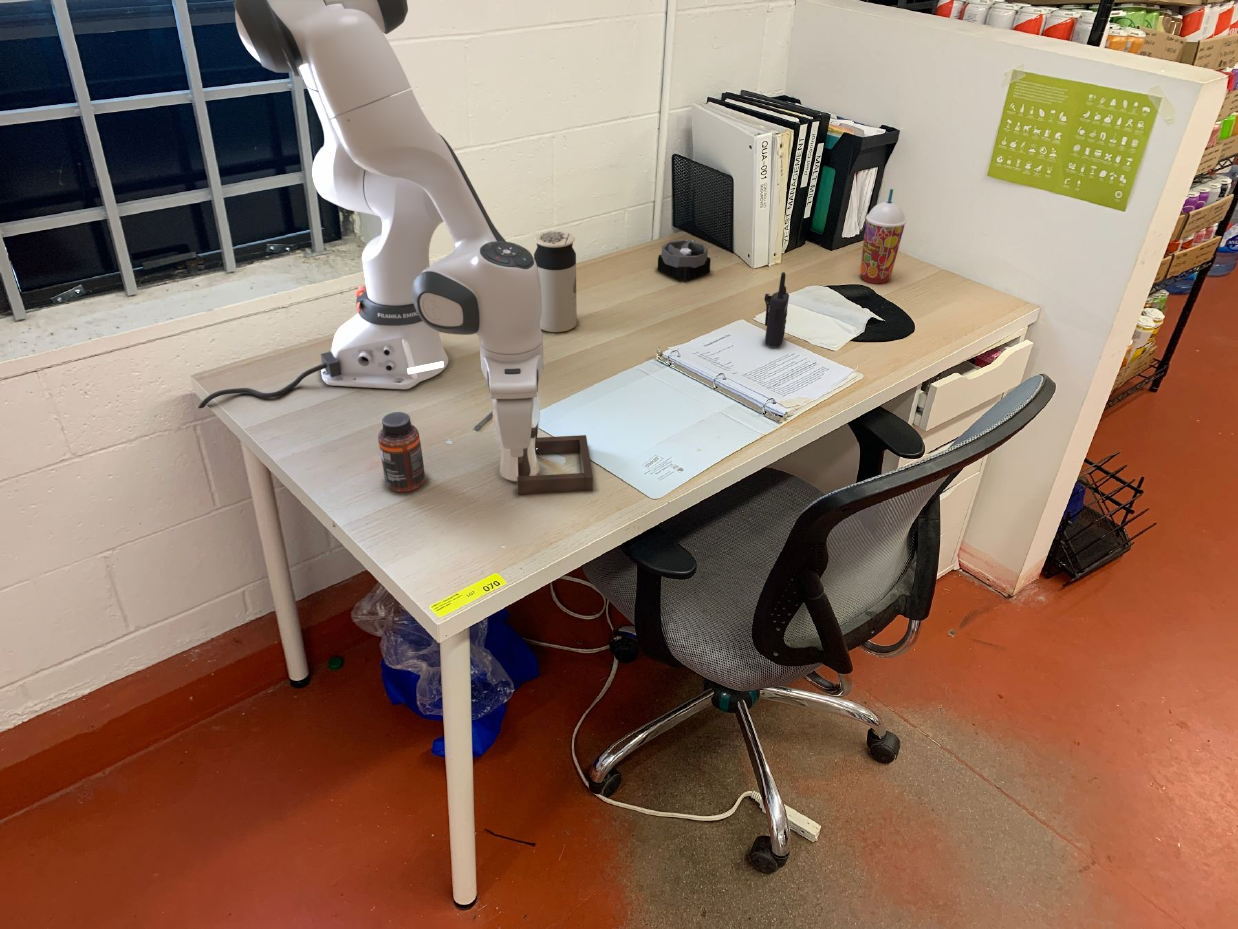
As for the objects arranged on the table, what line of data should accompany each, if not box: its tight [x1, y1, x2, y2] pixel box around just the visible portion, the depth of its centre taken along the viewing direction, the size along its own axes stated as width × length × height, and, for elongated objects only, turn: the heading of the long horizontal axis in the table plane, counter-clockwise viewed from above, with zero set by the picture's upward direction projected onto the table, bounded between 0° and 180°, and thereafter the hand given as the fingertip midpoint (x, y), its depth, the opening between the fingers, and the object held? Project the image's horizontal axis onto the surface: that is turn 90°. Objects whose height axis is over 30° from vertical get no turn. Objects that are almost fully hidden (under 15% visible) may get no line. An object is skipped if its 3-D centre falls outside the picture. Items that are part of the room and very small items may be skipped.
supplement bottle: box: [377, 411, 426, 493], centre depth 134 cm, size 6×6×11 cm
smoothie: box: [859, 188, 907, 284], centre depth 197 cm, size 8×8×20 cm
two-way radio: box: [764, 271, 790, 348], centre depth 172 cm, size 6×4×15 cm
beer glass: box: [491, 390, 541, 482], centre depth 135 cm, size 7×7×15 cm
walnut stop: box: [516, 434, 594, 495], centre depth 140 cm, size 11×11×2 cm
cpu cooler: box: [657, 238, 712, 282], centre depth 202 cm, size 10×6×10 cm
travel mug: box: [533, 230, 578, 333], centre depth 176 cm, size 8×8×18 cm
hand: (516, 439), depth 136 cm, fingers closed on beer glass, 6 cm apart
